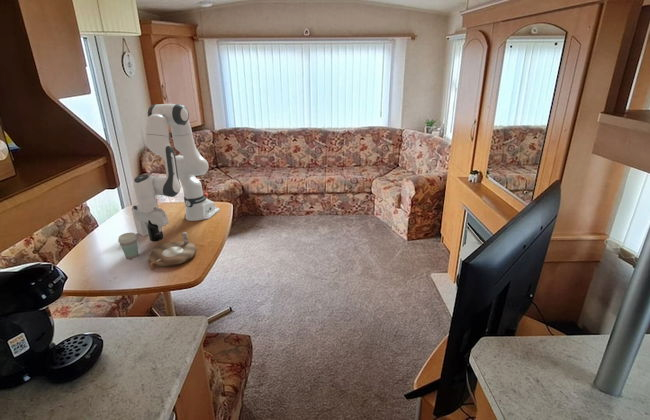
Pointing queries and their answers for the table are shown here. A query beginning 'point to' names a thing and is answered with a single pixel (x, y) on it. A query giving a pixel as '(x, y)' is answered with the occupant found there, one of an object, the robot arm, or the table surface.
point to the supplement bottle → (154, 232)
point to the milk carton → (139, 225)
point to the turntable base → (153, 265)
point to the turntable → (173, 252)
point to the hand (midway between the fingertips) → (154, 230)
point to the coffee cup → (129, 245)
